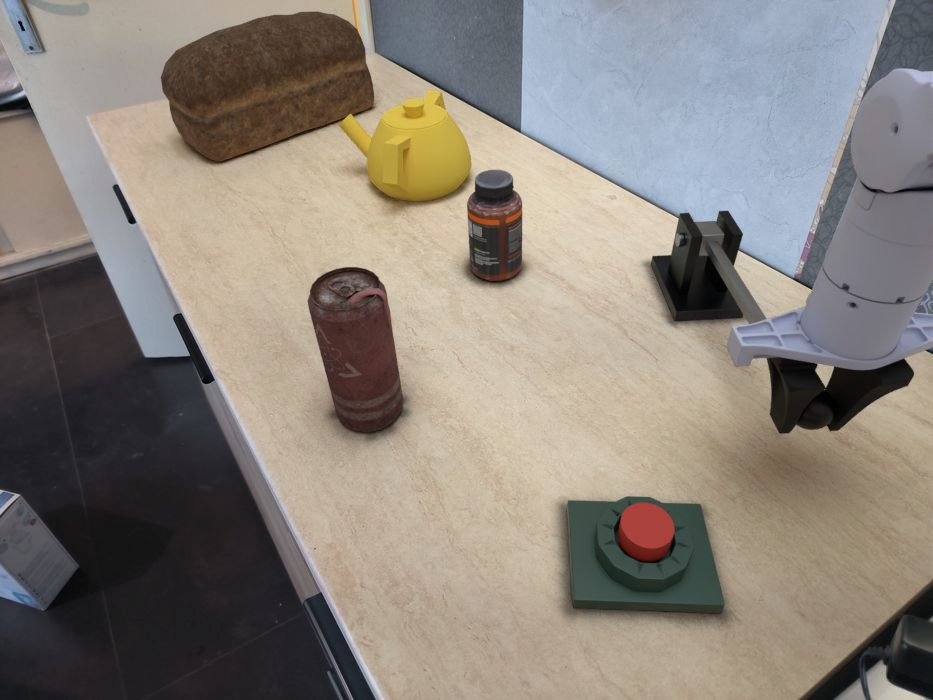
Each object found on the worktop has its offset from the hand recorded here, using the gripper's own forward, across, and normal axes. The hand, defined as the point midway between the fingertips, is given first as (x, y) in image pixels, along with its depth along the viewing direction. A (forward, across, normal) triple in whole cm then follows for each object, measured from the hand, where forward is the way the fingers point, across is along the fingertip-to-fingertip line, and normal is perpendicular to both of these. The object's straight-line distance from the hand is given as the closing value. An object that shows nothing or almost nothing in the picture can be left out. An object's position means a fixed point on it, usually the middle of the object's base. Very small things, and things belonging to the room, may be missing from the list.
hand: (803, 422), depth 49 cm
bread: (+6, +53, -74) cm, 91 cm away
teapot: (+6, +32, -52) cm, 62 cm away
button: (+3, +13, +7) cm, 15 cm away
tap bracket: (+6, 0, -24) cm, 25 cm away
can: (+6, +34, -9) cm, 36 cm away
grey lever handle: (0, 0, -12) cm, 12 cm away
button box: (+6, +13, +7) cm, 16 cm away
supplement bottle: (+6, +21, -30) cm, 37 cm away
